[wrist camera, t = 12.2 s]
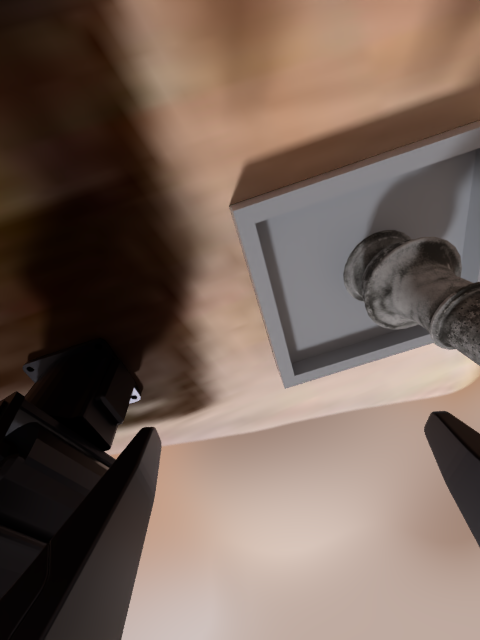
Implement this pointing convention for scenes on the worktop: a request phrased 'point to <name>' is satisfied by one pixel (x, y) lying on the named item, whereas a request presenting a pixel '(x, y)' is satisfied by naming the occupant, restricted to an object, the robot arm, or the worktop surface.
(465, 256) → the grey tray
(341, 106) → the worktop surface
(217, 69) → the worktop surface
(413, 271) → the grey tall rounded piece
